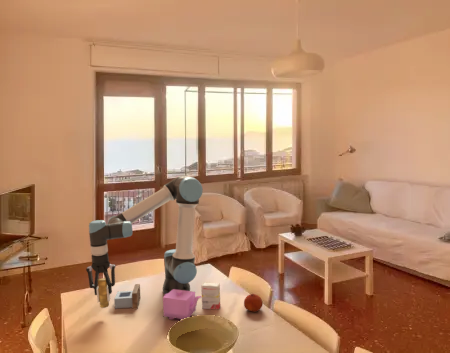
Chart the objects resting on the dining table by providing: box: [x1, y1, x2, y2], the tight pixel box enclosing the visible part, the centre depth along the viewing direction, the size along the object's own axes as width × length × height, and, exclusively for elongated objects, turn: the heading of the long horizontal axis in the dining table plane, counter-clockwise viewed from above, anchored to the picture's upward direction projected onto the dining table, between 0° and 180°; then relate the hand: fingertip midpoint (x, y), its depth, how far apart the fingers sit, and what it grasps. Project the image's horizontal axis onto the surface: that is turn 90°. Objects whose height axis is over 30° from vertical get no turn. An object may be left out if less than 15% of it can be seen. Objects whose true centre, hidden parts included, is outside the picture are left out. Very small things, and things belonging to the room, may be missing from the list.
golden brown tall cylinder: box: [98, 277, 110, 309], centre depth 177 cm, size 4×4×13 cm
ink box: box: [200, 281, 221, 310], centre depth 184 cm, size 9×5×12 cm, turn 79°
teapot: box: [162, 289, 202, 321], centre depth 175 cm, size 20×10×12 cm, turn 71°
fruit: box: [243, 293, 264, 313], centre depth 180 cm, size 9×9×8 cm
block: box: [113, 290, 133, 309], centre depth 190 cm, size 9×9×5 cm
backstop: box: [132, 283, 141, 310], centre depth 191 cm, size 2×12×8 cm, turn 6°
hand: (104, 300), depth 177 cm, fingers closed on golden brown tall cylinder, 4 cm apart
